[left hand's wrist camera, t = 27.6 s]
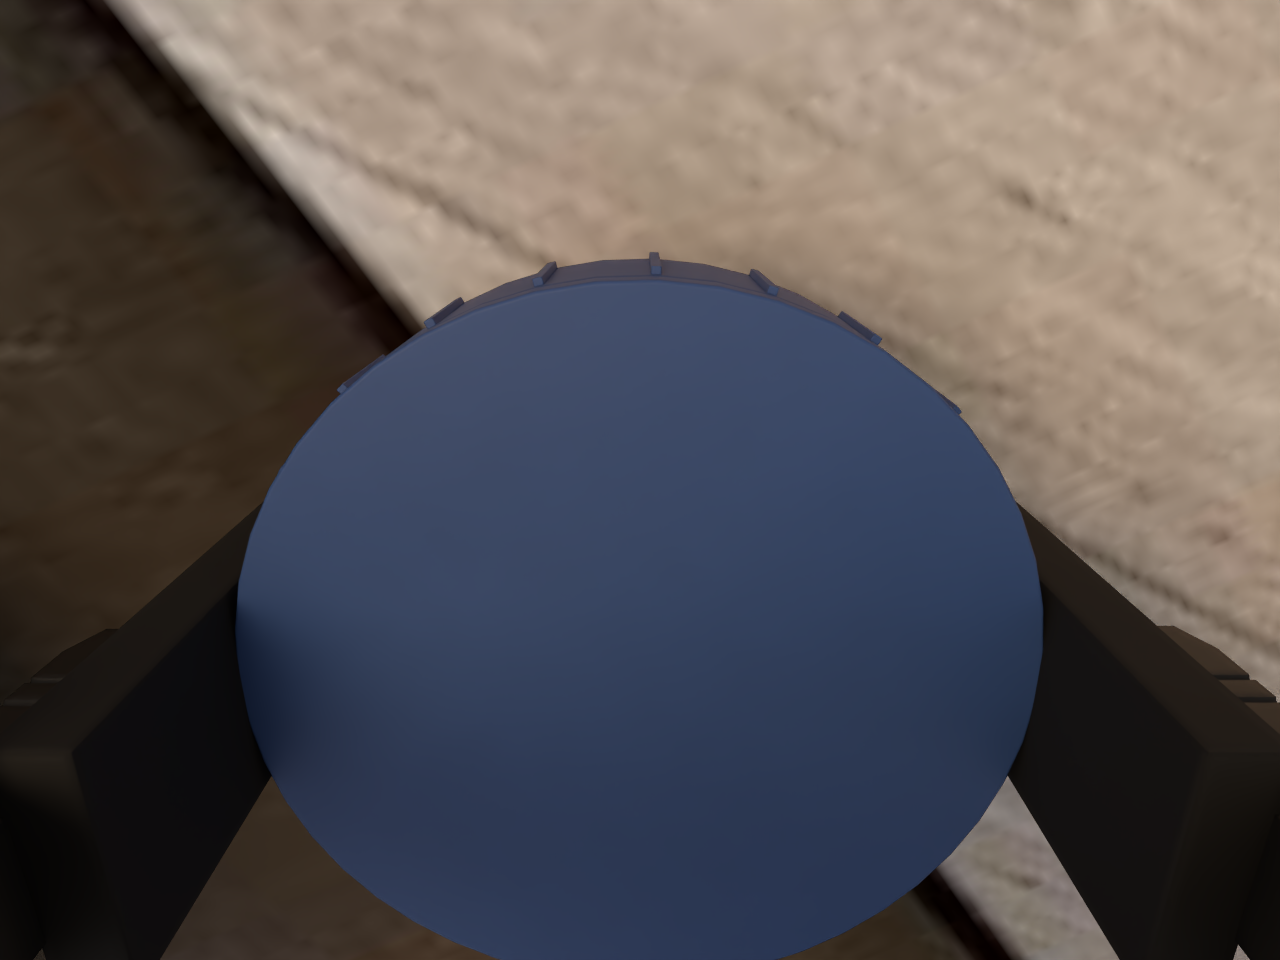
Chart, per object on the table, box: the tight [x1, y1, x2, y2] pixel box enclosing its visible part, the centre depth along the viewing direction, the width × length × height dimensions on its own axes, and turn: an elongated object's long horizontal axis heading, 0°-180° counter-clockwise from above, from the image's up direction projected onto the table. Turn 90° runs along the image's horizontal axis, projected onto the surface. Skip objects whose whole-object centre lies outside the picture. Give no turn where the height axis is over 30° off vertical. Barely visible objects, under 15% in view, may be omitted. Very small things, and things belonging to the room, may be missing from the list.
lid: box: [235, 252, 1043, 960], centre depth 11 cm, size 10×9×2 cm
